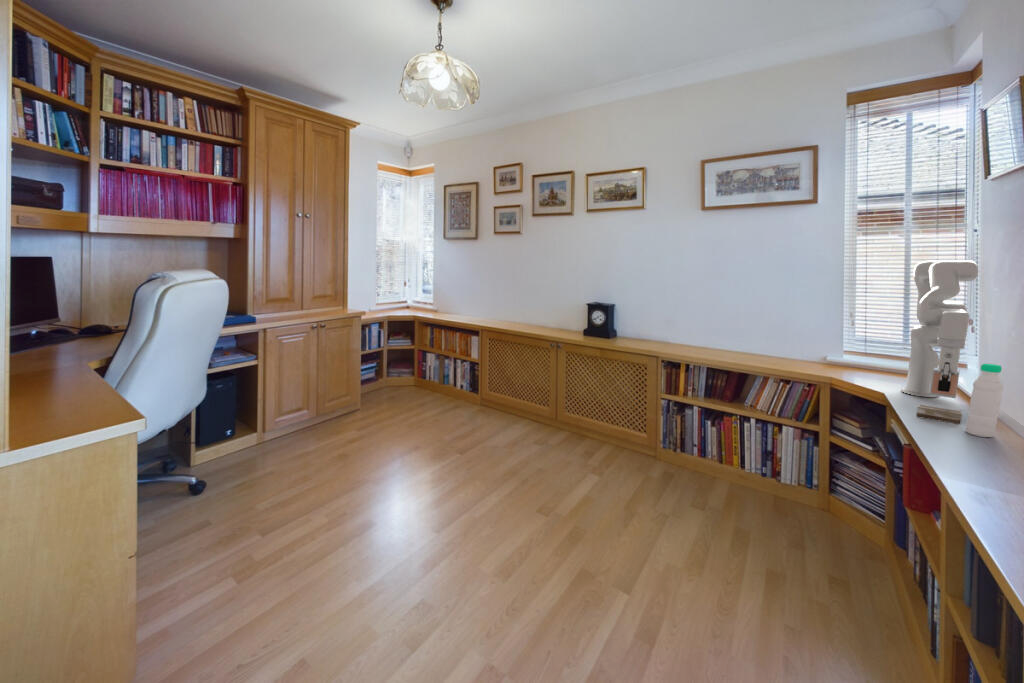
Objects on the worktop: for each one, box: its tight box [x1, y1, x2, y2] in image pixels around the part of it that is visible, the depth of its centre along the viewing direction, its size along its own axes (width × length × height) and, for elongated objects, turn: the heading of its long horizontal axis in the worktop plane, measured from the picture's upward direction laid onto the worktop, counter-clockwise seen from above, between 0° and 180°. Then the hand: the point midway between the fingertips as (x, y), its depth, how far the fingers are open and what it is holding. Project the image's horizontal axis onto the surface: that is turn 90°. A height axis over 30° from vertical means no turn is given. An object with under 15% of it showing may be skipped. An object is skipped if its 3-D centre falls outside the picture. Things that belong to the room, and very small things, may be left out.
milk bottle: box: [965, 363, 1004, 438], centre depth 151 cm, size 7×7×25 cm
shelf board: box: [916, 404, 963, 425], centre depth 171 cm, size 14×12×4 cm
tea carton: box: [930, 367, 961, 399], centre depth 169 cm, size 5×7×10 cm
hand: (943, 389), depth 169 cm, fingers closed on tea carton, 5 cm apart
